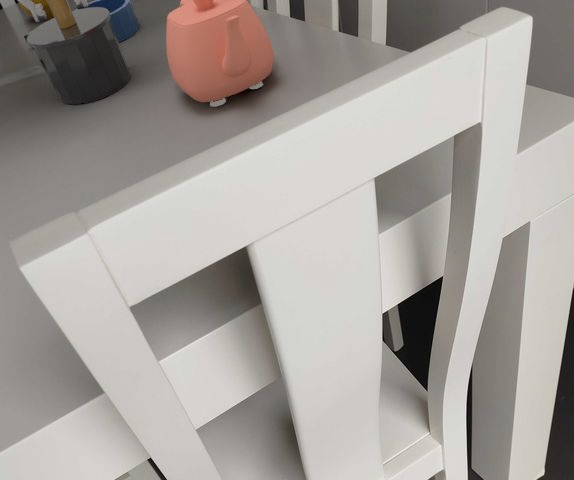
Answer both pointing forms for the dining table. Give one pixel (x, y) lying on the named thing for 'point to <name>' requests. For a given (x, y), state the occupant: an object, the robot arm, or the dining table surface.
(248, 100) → the dining table surface
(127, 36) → the pan
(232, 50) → the teapot
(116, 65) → the pot
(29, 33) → the pan handle
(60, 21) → the lid
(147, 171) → the dining table surface
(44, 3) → the apple
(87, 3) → the robot arm
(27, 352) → the dining table surface
